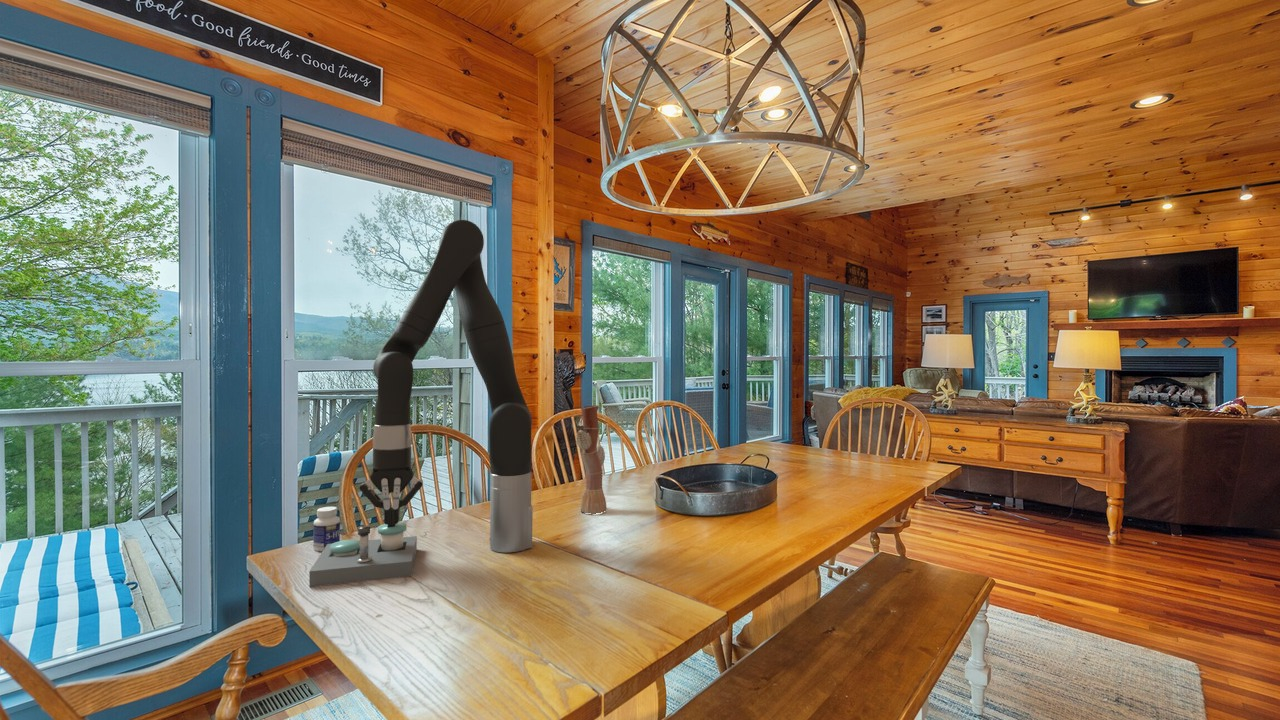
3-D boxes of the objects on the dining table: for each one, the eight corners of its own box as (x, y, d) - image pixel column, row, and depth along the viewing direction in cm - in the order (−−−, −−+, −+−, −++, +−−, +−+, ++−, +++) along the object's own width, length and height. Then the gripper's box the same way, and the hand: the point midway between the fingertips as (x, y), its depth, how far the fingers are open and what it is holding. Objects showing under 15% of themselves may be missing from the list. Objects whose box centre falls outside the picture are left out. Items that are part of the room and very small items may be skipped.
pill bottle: (328, 552, 126) (328, 512, 126) (307, 550, 127) (307, 511, 127) (345, 544, 131) (345, 506, 131) (325, 542, 132) (325, 505, 132)
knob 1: (362, 559, 122) (362, 538, 122) (358, 568, 117) (358, 547, 117) (333, 562, 121) (333, 541, 120) (327, 571, 115) (327, 549, 115)
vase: (599, 506, 166) (599, 403, 165) (613, 511, 160) (614, 405, 159) (567, 512, 159) (568, 405, 159) (581, 518, 153) (582, 407, 153)
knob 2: (407, 541, 125) (407, 521, 125) (405, 549, 120) (405, 528, 120) (379, 543, 123) (379, 523, 123) (376, 552, 118) (376, 531, 118)
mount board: (416, 549, 129) (416, 536, 129) (411, 576, 113) (411, 561, 113) (327, 557, 123) (327, 543, 123) (309, 587, 108) (309, 571, 108)
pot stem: (372, 557, 115) (372, 524, 115) (370, 562, 112) (370, 528, 112) (357, 559, 114) (357, 525, 114) (355, 564, 112) (355, 530, 112)
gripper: (426, 441, 127) (425, 518, 127) (361, 443, 123) (360, 523, 123) (424, 446, 120) (423, 528, 120) (355, 449, 116) (354, 533, 116)
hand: (391, 525), depth 121 cm, fingers closed
